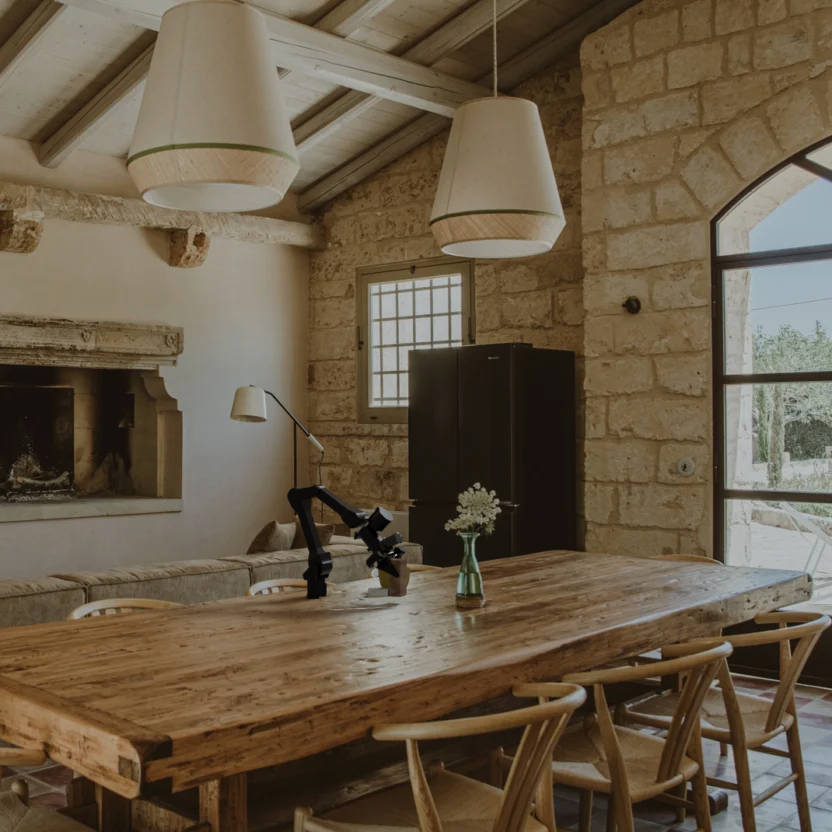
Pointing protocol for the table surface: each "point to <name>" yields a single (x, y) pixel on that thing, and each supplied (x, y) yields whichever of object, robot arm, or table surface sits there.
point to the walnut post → (399, 578)
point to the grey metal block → (378, 592)
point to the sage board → (390, 599)
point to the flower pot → (385, 577)
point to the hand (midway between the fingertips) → (401, 576)
